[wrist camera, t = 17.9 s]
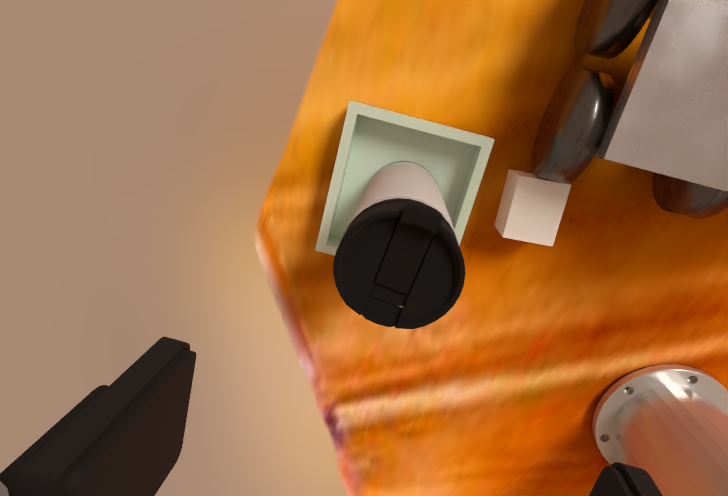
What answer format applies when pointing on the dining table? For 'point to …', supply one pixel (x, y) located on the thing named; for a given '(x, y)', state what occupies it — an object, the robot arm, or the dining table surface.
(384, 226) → the travel mug
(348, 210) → the tray
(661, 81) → the trolley
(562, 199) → the white block
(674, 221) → the dining table surface
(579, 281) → the dining table surface
